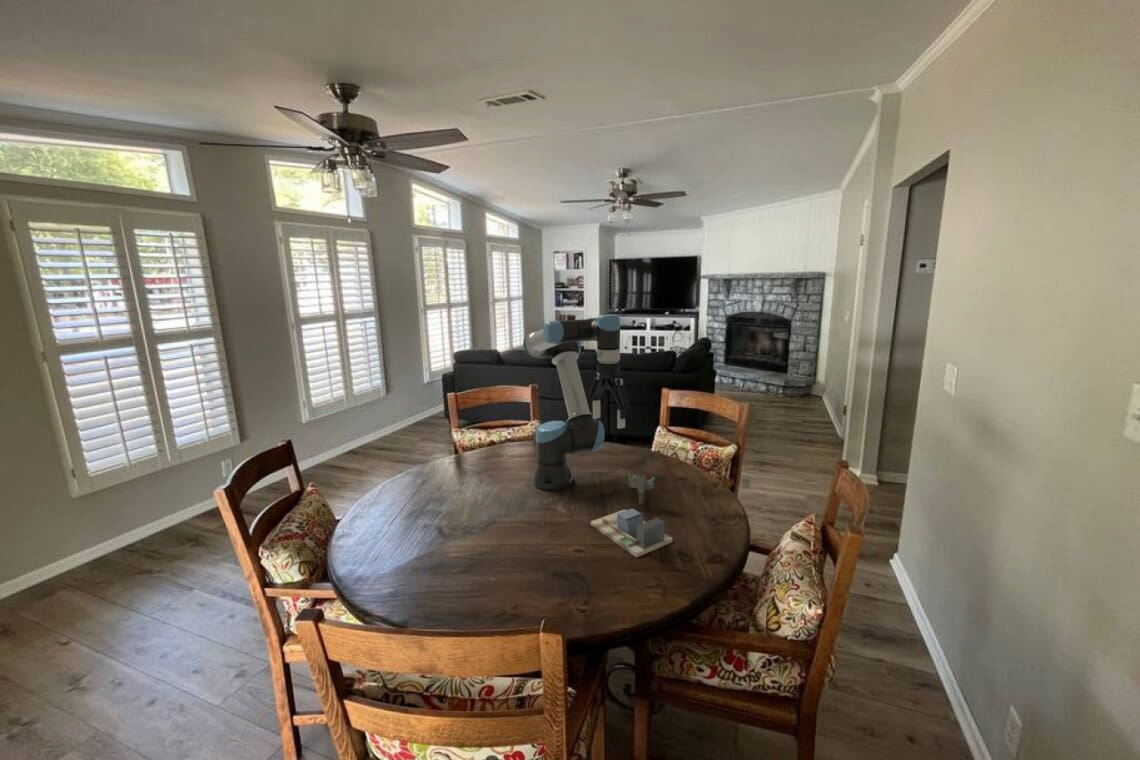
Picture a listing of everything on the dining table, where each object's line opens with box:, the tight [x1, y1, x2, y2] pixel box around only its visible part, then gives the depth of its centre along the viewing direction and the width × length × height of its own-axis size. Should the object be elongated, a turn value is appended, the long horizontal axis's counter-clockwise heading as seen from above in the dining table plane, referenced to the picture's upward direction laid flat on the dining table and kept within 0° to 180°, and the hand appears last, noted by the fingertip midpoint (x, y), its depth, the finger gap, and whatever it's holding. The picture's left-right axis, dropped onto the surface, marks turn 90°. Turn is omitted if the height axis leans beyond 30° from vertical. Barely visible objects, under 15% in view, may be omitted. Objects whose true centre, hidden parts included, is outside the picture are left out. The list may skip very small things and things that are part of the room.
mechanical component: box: [625, 473, 657, 505], centre depth 163 cm, size 3×10×10 cm, turn 78°
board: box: [590, 509, 673, 558], centre depth 144 cm, size 22×14×2 cm, turn 33°
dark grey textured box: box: [636, 517, 665, 549], centre depth 136 cm, size 3×8×6 cm, turn 123°
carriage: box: [617, 508, 645, 535], centre depth 144 cm, size 5×7×5 cm
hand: (608, 422), depth 160 cm, fingers open, 13 cm apart
